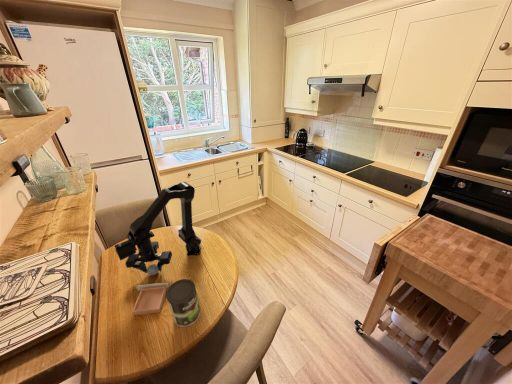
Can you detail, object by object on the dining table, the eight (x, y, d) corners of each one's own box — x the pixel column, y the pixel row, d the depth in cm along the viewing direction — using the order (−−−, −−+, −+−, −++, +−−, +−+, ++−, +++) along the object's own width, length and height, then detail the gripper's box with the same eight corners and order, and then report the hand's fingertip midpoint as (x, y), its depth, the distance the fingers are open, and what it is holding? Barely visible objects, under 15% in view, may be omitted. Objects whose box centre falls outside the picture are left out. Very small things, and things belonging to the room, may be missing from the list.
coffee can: (206, 309, 85) (201, 286, 78) (186, 332, 78) (179, 309, 71) (188, 297, 90) (182, 274, 83) (168, 317, 82) (159, 294, 76)
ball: (161, 268, 104) (158, 261, 101) (158, 277, 99) (155, 269, 97) (150, 269, 103) (148, 262, 101) (147, 278, 99) (144, 270, 96)
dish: (166, 289, 93) (165, 286, 92) (160, 312, 84) (158, 308, 83) (142, 292, 92) (141, 289, 91) (133, 315, 84) (131, 311, 83)
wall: (168, 286, 95) (167, 282, 94) (168, 287, 94) (166, 283, 93) (138, 289, 94) (136, 285, 93) (137, 290, 93) (136, 286, 92)
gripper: (171, 233, 101) (177, 257, 109) (130, 236, 99) (139, 260, 107) (165, 250, 91) (172, 275, 99) (119, 254, 90) (130, 279, 97)
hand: (153, 271), depth 101 cm, fingers open, 6 cm apart
